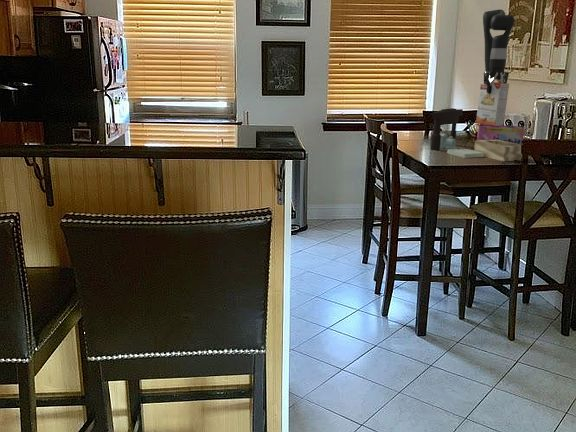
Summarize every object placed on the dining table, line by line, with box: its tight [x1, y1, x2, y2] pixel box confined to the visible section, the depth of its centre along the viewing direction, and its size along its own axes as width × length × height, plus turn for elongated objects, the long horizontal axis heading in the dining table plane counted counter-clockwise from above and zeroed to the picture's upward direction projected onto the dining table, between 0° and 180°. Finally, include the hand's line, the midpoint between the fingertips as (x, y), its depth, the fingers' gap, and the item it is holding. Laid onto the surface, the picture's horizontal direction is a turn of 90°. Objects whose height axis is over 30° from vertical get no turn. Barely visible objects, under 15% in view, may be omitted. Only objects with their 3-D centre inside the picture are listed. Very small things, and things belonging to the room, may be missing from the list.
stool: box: [430, 108, 464, 151], centre depth 313 cm, size 16×21×33 cm
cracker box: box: [475, 81, 510, 126], centre depth 284 cm, size 14×6×21 cm, turn 23°
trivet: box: [447, 148, 484, 159], centre depth 293 cm, size 12×14×2 cm
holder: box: [474, 139, 522, 162], centre depth 289 cm, size 14×22×7 cm, turn 21°
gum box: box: [476, 124, 526, 144], centre depth 305 cm, size 24×8×14 cm, turn 75°
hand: (494, 93), depth 282 cm, fingers closed on cracker box, 6 cm apart
